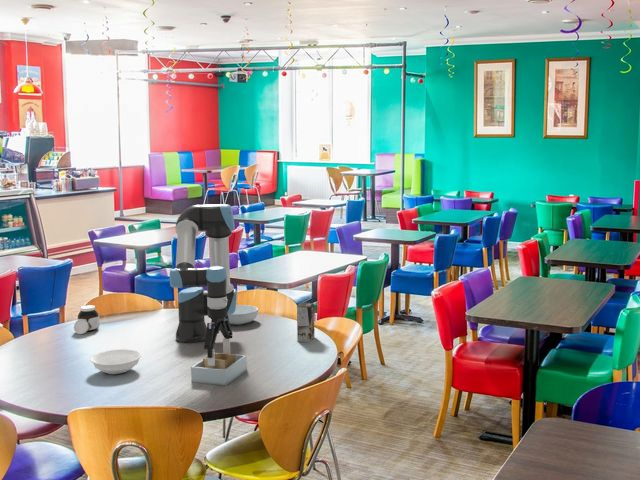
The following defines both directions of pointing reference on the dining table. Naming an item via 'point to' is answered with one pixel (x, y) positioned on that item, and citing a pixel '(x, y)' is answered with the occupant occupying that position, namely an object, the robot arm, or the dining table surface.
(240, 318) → the serving bowl
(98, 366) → the bowl
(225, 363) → the wooden crate
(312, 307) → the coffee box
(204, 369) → the plastic tote
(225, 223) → the robot arm
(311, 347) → the dining table surface
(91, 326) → the spread jar
